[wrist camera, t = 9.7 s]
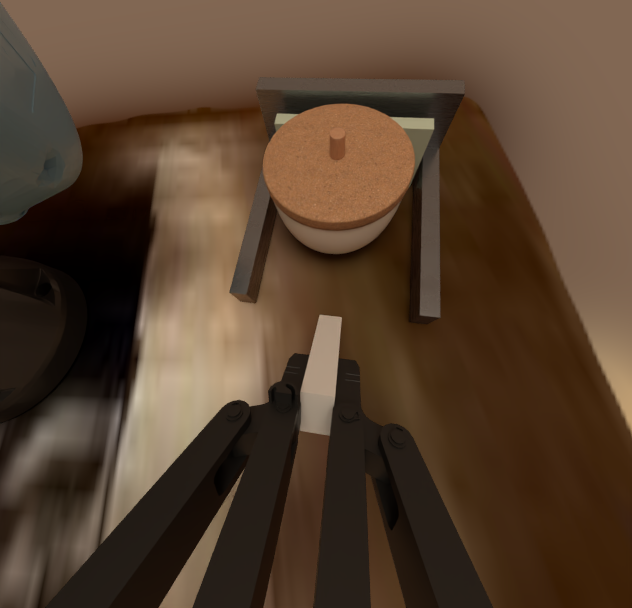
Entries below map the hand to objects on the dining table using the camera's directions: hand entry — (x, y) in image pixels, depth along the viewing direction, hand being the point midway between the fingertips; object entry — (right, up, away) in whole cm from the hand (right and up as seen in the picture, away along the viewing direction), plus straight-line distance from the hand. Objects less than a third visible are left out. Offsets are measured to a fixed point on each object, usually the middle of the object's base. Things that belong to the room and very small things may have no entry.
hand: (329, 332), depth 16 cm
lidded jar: (+1, +10, +8) cm, 13 cm away
